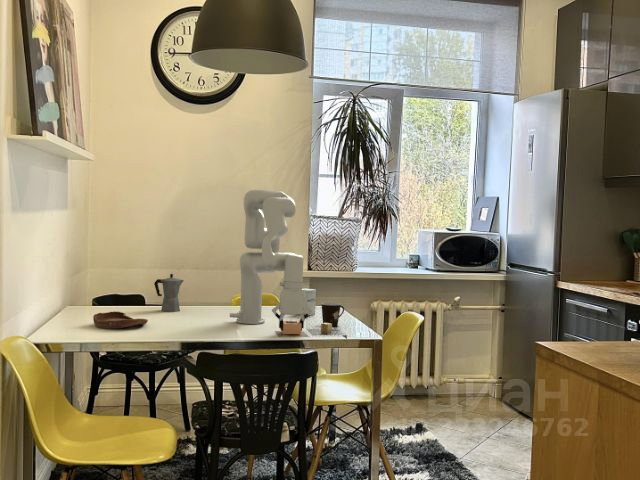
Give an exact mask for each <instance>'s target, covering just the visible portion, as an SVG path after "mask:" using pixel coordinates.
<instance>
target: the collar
mask: <svg viewBox="0 0 640 480" xmlns="http://www.w3.org/2000/svg"><path fill="white" fill-rule="evenodd" d="M283 321H284V322H283V331H282V332H283V334H301V326H302V324H301V323H300V322H299V320H294V321H295V323H288V321H289V320H283Z"/></svg>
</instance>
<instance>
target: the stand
mask: <svg viewBox="0 0 640 480" xmlns="http://www.w3.org/2000/svg"><path fill="white" fill-rule="evenodd" d="M287 321H288V323H295V321H296V320H287ZM274 333H275V334H276V335H277V337H281V338H285V337H286V338H287V337H288V338H290V337H291V338H292V337H293V338H294V337H295V338H296V337H297V338H298V337H299V338H300V337H303V338H305V337H307V338H309V335H308V334H307V333H306V332H305V331H304V330H302V331H301V334H283V332H282V331H281V330H274Z"/></svg>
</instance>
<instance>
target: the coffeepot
mask: <svg viewBox="0 0 640 480" xmlns="http://www.w3.org/2000/svg"><path fill="white" fill-rule="evenodd" d="M183 282H184V279H180V278H175V277H174V274H173V273H170V274H169V277H167V278H164V279H163V278H161V279H159V278H158V279H156V280H155V281H154V289H155V291H156V295H157V297H162V296H163V300H162V303H161V312H163V313H177V312H180V303H179V294H180V293H179V292H180V288H181V285H182V283H183ZM159 284H162V290H163V291H162V292H163V294H161V293H160V287H159Z"/></svg>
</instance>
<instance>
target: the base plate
mask: <svg viewBox="0 0 640 480" xmlns="http://www.w3.org/2000/svg"><path fill="white" fill-rule="evenodd" d="M306 330H307V331H308V332H309V334H310V335H312V336H342V337H343V338H345V339H346V340H347V339H348V335H347V334H346V333H345V332H344V331H342V330H341V329H339V328H336V329H335V328H332V324H331V323H323V322H322V323H320V328H317V329H316V328H306Z"/></svg>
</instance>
